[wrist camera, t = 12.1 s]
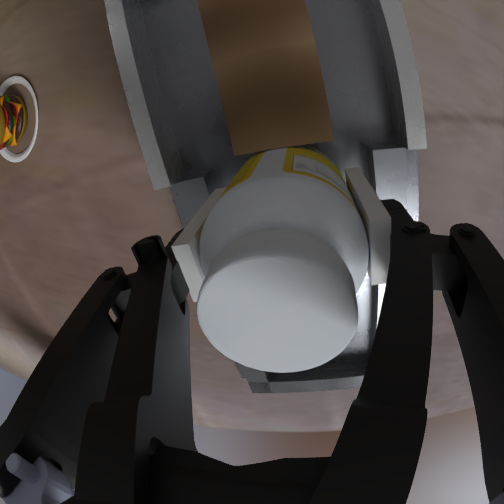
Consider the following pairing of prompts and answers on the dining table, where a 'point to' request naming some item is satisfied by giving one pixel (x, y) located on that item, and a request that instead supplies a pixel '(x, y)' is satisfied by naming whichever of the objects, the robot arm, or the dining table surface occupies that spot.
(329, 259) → the pill bottle
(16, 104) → the hamburger
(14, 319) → the dining table surface
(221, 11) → the brown block
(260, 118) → the brown wooden block
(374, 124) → the slot fixture
